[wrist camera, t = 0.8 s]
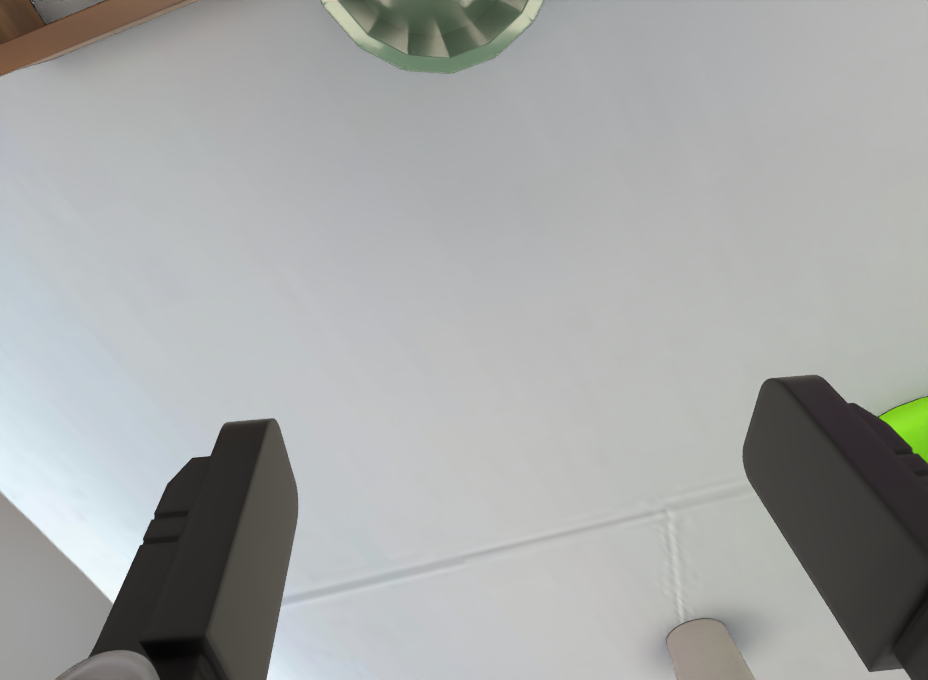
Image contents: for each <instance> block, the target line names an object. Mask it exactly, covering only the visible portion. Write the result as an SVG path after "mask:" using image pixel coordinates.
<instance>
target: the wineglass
mask: <svg viewBox="0 0 928 680" xmlns="http://www.w3.org/2000/svg"><path fill="white" fill-rule="evenodd" d="M878 418H880V419H881V420H883V421H885V422H886V423H888V424H889V425H890V426H891V427H892V428H893V429H894V430H895V431H896V432H897V433H898V434H899V435H900V436H901V437H902V438H903V439H904V440H905V441H906V442H907V443H908V444H909V445H910V446H911V447H912V448H913V449H912V451H913V453H914V454H917V453H918V454H919V455H920V456H921V457H922V458H923V459H924V460H925V461H926V462H927V463H928V397H925V398H920V399H918V400H915V401H912V402H910V403H907V404H904V405H902V406H899V407H897V408H894V409H892V410H890V411H889V412H887V413H885V414H883V415H882V416H880V417H878Z"/></svg>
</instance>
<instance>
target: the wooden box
mask: <svg viewBox="0 0 928 680" xmlns="http://www.w3.org/2000/svg"><path fill="white" fill-rule="evenodd" d="M196 1H198V0H105V1H103V2H101V3H98V4H96V5H93V6H91V7H88V8H86V9H84V10H81V11H79V12H76V13H74V14H71V15H69V16H67V17H64V18H62V19H59V20H57V21H55V22H52V23H50V24H47V25H45V24H44V22H43V21H42V19H41V18H40V16H39V15H38V13H37V11H36V10H35V8H34V7H33V5H32V4H31V2H30V1H29V0H0V77H1V76H3V75H6V74H8V73H11V72H13V71H16V70H19V69H22V68H26V67H29V66H33V65H36V64H39V63H43V62H46V61H50V60H53V59H55V58H58V57H60V56H63V55H65V54H67V53H70V52H72V51H75V50H77V49H80V48H82V47H85V46H87V45H90V44H92V43H95V42H97V41H100V40H102V39H104V38H107V37H109V36H112V35H114V34H117V33H119V32H122V31H124V30H127V29H129V28H132V27H134V26H137V25H139V24H141V23H144V22H146V21H149V20H151V19H154V18H156V17H159V16H161V15H164V14H166V13H169V12H171V11H174V10H176V9H178V8H181V7H183V6H186V5H188V4H191V3H193V2H196Z"/></svg>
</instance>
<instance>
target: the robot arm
mask: <svg viewBox="0 0 928 680" xmlns="http://www.w3.org/2000/svg"><path fill="white" fill-rule="evenodd" d="M912 449H913V448H912V447H911V446H910V445H909V444H908V443H907V442H906V441H905V440H904V439H903V438H902V437H901V436H900V435H899V434H898V433H897V432H896V431H895V430H894V429H893V428H892V427H891V426H890V425H889V424H888V423H886V422H885V421H883V420H881V419H880V418H878V417H877V416H875V415H873V414H872V413H870V412H868V411H867V410H865V409H863V408H862V407H860V406H858V405H857V404H855V403H847V402H846V401H845V400H844V399H843V398H842V397H841V396H840V395H839V394H838V393H837V392H836V391H835V390H834V389H833V387H832V386H831V385H830V384H829V383H828V382H827V381H826V380H825V379H823V378H822V377H820V376H818V375H805V376H793V377H781V378H770V379H767V380H766V381H765V382H764V383H763V384H762V386H761V389H760V392H759V395H758V398H757V402H756V405H755V408H754V412H753V415H752V418H751V422H750V425H749V428H748V432H747V435H746V439H745V442H744V446H743V463H744V468H745V472H746V475H747V477H748V480H749V482H750V483H751V485H752V487H753V488H754V490H755V492H756V493H757V495H758V496H759V498H760V499H761V501H762V503H763V504H764V506H765V507H766V509H767V511H768V512H769V514H770V515H771V517H772V518H773V520H774V522H775V523H776V525H777V526H778V528H779V530H780V531H781V533H782V534H783V536H784V537H785V539H786V541H787V542H788V544H789V545H790V547H791V549H792V550H793V552H794V553H795V555H796V557H797V558H798V560H799V561H800V563H801V564H802V566H803V568H804V569H805V571H806V572H807V574H808V576H809V577H810V579H811V580H812V582H813V583H814V585H815V587H816V588H817V590H818V591H819V593H820V595H821V596H822V598H823V599H824V601H825V602H826V604H827V606H828V607H829V609H830V610H831V612H832V614H833V615H834V617H835V618H836V620H837V622H838V623H839V625H840V626H841V628H842V629H843V631H844V633H845V634H846V636H847V637H848V639H849V641H850V642H851V644H852V645H853V647H854V648H855V650H856V652H857V653H858V655H859V656H860V658H861V660H862V661H863V663H864V664H865V666H866V667H867V669H868V671H869V672H874V671H883V670H893V669H903V668H904V669H905V671H906V672H907V674H908V675H909V677H910V678H911V680H928V463H927V462H926V461H925V460H924V459H923V458H922V457H921V456H920V455H919V454H918V453H917V454H914V453H913V451H912ZM154 515H155V518H154V520H151V522H150V524H149V526H148V529H147V531H146V533H145V535H144V538H143V540H144V542H143V545H140V547H139V549H138V551H137V553H136V556H135V558H134V560H133V562H132V564H131V567H130V569H129V571H128V573H127V576H126V578H125V580H124V582H123V585H122V587H121V589H120V591H119V593H118V596H117V598H116V600H115V602H114V605H113V607H112V609H111V611H110V614H109V616H108V618H107V621H106V623H105V625H104V627H103V629H102V631H101V634H100V636H99V638H98V640H97V643H96V645H95V647H94V649H93V650H92V652H91V654H90V655H89V657H88V658H87V659H85V660H83V661H81V662H79V663H77V664H76V665H74V666H72V667H71V668H69V669H68V670H67V671H65V672H64V673H62V674H61V675H60V676H58V677H57V678H56V679H55V680H266V678H267V673H268V668H269V663H270V658H271V653H272V648H273V643H274V637H275V632H276V627H277V622H278V617H279V612H280V607H281V601H282V596H283V591H284V586H285V581H286V576H287V571H288V565H289V560H290V555H291V550H292V545H293V540H294V535H295V530H296V524H297V518H298V493H297V486H296V482H295V478H294V475H293V472H292V468H291V465H290V461H289V458H288V454H287V451H286V447H285V444H284V441H283V437H282V434H281V430H280V427H279V425H278V422H277V421H276V420H275V419H273V418H271V419H259V420H247V421H235V422H227V423H225V424H224V425H223V427H222V428H221V431H220V433H219V436H218V438H217V441H216V443H215V446H214V449H213V451H212V454H211V456H208V457H196V458H192V459H191V460H190V461H189V462H188V463H187V464H186V465H185V466H184V467H183V468H182V469H181V470H180V471H179V472H178V473H177V475H176V476H175V477H174V478H173V479H172V480H171V481H170V482H169V483H168V484H167V486H166V489H165V491H164V493H163V495H162V497H161V500H160V502H159V504H158V506H157V509H156V511H155V513H154Z"/></svg>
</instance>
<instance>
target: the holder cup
mask: <svg viewBox="0 0 928 680" xmlns="http://www.w3.org/2000/svg"><path fill="white" fill-rule="evenodd" d="M320 1H321V3H322V4H323V7H324V8H325V9H326V10H327V11H328V12H329V14H330V15H331V16H332V17H333V18H334V19H335V20H336V22H337V23H338V24H339V25H340V26H341V27H342V28H343V30H344V31H345V32H346V33H347V34H348V35H349V36H350V38H351V39H352V40H353V41H354V42H355V43H356V44H357V46H358V47H360V48H361V49H363V50H365V51H367V52H369V53H371V54H373V55H375V56H377V57H379V58H380V59H382V60H384V61H386V62H388V63H390V64H392V65H394V66H396V67H398V68H400V69H402V70H405V71H415V72H429V73H443V74H453V73H455V72H458V71H461V70H463V69H466V68H469V67H472V66H474V65H477V64H480V63H482V62H485V61H488V60H491V59H493V58H495V57H496V56H498V55H499V54H500V53H501V52H502V51H503V50H504V49H505V48H506V47H508V46H509V45H510V44H511V43H512V42H513V41H514V40H515V39H516V38H517V37H518V36H519V35H520V34H521V33H522V32H524V31H525V30H526V29H527V28H528V27H529V26H530V25H531V24H532V23H533V21H534V20H535V18H536V16H537V14H538V12H539V10H540V8H541V6H542V4H543V2H544V0H320Z"/></svg>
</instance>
